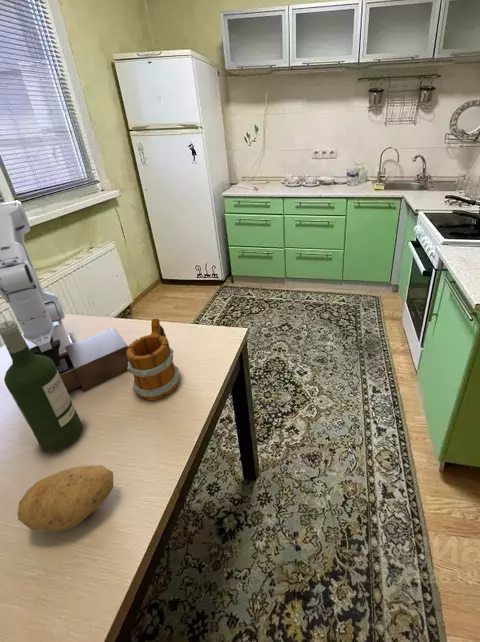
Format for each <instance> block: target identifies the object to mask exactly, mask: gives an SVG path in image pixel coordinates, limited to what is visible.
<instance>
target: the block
mask: <svg viewBox="0 0 480 642" xmlns="http://www.w3.org/2000/svg"><path fill="white" fill-rule="evenodd" d="M56 368H57V370H58V372H59V374H62V373H64V372H66V371H68V370H69V368H68V366H67V363H66V361H65V359H61V360H60V366H58V367H56Z"/></svg>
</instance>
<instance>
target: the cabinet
mask: <svg viewBox="0 0 480 642" xmlns="http://www.w3.org/2000/svg"><path fill="white" fill-rule="evenodd" d="M72 343H73V344H71V345H68V346H66V347H65V349H66V351H67V352H66V353H68V355H69V358H70V360H71V362H72V364H73V367H74V369H75V371H76V374H77V376H78V378H79V381H80V383H81V388H82V390H83V392H86V391H88V390H91V389H92V388H95V387H96V386H98V385H100V384H102V383H104V382H106V381H109V380H111V379H113V378H115V377H117V376H119V375H121V374H123V373H125V372H127V371H129V370H128V369H127V367H128V362H129V361H128V358H127V356H126V352H127V349H128V347H129V345H128V344H127V342H126V340H124V339H123V337H122V336H121V334H120V333H119V331H118V330H117V329H116V328H115V327H112V328H108V329H106V330H103V331H102V332H97V333H96V334H94V335H91V336H88V337H86V338H83V339H81V340H78V341H76V342H72Z"/></svg>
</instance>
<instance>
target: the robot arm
mask: <svg viewBox="0 0 480 642" xmlns="http://www.w3.org/2000/svg"><path fill="white" fill-rule="evenodd" d="M29 232H31V225H30V222H29V219H28V216H27V214H26V210H25V208H24V206H23V204H22V202H21V201H19V200H14V201H9V202H0V294H1V296H2V297H3V299H4V302H6V304H9V307H10V309H11V311H12V313H13V315H14V317H15V319H16V321H17V324H18V326H19V327H20V330H21V332H22V336H23V338H24V340H25V341H26V340H27V341H28V342H30V343H32V344H34V345H36V346H32V347H29V349H30V351H31V352H32V353H33V354H35V355H44V356H46V357H48V358H50V359H52V361H53V362H54V364H55V366H56V367H58V366H60V358H59V355H62V354H64V353H67V351H66V349H65V347H66V346H68V345H71V344H73V343H74V342H73V340H72V339H71V336H70V334H69V333H68V332H67V330H66V328H65V325H64V323H63V320H65V318H66V313H65V311H64V308H63V306H62V303H61V301H60V299H59V297H58V295H57V294H56V293H53V292H50V291H46V290H44V289H43V287H42V285H41V282H40V279H39V276H38V274H37V271H36V268H35V266H34V264H33V261H32V259H31V257H30V254H29V253H30V252H29V250H28V248H27V245H26V243H25V235H26V234H27V233H29Z"/></svg>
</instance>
